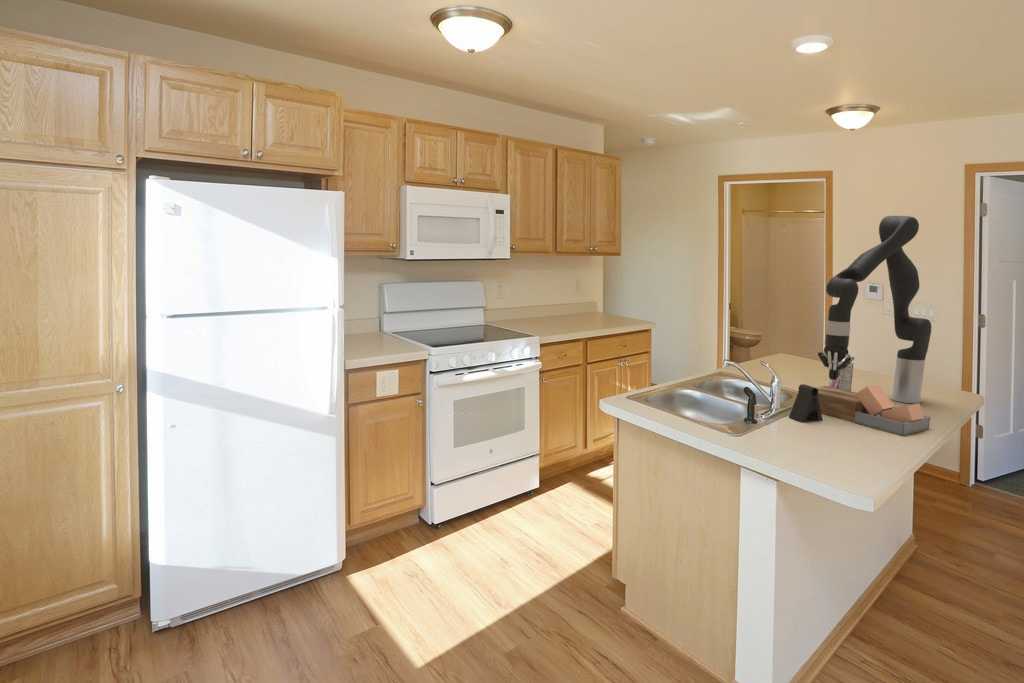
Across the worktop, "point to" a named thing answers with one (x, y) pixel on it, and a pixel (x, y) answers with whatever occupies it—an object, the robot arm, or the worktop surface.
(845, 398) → the brown wooden block
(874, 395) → the pink rectangular block
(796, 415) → the phone stand
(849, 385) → the candy bar box
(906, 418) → the tile front
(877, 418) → the tray
